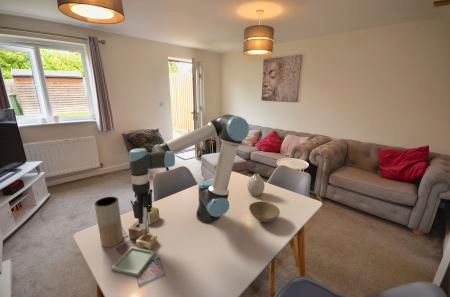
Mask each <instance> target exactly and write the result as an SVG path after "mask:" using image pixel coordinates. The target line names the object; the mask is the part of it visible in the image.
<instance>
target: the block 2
mask: <svg viewBox="0 0 450 297" xmlns="http://www.w3.org/2000/svg"><path fill="white" fill-rule="evenodd" d="M157 242H158V236H157V234H156V233H151V232H149V233H148V234H146V235H143V234H142V235H141V236H140V237H139V238H138V239H137V240H135V245H136V246H135V247H138V248H143V249H147V250H152V248H153V247H154V246H155V245H156V243H157Z"/></svg>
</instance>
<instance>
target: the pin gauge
mask: <svg viewBox="0 0 450 297" xmlns="http://www.w3.org/2000/svg"><path fill="white" fill-rule="evenodd" d="M143 216H145V227H146V228H145V229H142V234H143V235H146V234H148V233H150V228H149V229H148V218H147V207H146V206H143Z"/></svg>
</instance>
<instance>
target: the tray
mask: <svg viewBox="0 0 450 297" xmlns="http://www.w3.org/2000/svg"><path fill="white" fill-rule="evenodd" d="M155 255H156V251H155V250H152V249H150V250H147V249H143V248H138V247H136V246H133V245H131V246H130V247H128V249H127V250H126V251H125V252H124V253H123V255H121V257H119V258H118V260H117V261H116V262H114V264H112V266H111V267H110V269H111V271H113V272H118V273H121V274H126V275H129V276H133V277H139V276H140V275H141V273H142V272H143V270H144V269H145V268H146V267H147V265H148V264H149V263H150V262H151V261H152V259H153V258H154V256H155ZM145 266H146V267H145ZM144 267H145V268H144ZM138 275H139V276H138Z"/></svg>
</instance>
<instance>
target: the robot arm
mask: <svg viewBox="0 0 450 297" xmlns="http://www.w3.org/2000/svg"><path fill="white" fill-rule="evenodd" d="M249 132H250V126H249V123H248V121H247V120H246V119H245V118H244V117H241V116H240V115H234V114H229V113H228V114H227V113H226V114H223V115H221V116H218V117H216V118H214V119H212V120H210V121H208V123H207V124H204V125H202V126H200V127H198V128H196V129H193V130H191V131H189V132H187V133H184V134H181V135H180V136H178V137H177V136H176V137H175V138H173V139H171V140H168V141H166V142H163V143H162V144H161V143H158V144H155V145H154V146H153V147H152V149H151V152H148V150H147V149H146V148H143V147H142V148H141V147H140V148H138V147H137V148H133V149H131V150H130V151H129V153H128V157H129V158H128V159H129V168H130V175H131V185H132V187H131V188H132V191H133V193H134V199H133V200H130V204H131V207H132V212H133V217H134V218H135V219H136V220H137V221H139V225H140V228H141V229H145V228H146V227H145V216H143V206H146V207H147V218H148V225H149V226H150V225H151V224H150V213H149V212H151V210H150V209H151V208H152V207H153V189H151V182H150V171H149V170H152V169H153V170H154V169H155V170H156V169H163V168H164V169H165V168H172V167H174V166H175V164H176V157H175V154H178V153H179V152H182V151H184V150H186V149H189V148H191V147H193V146H196V145H198V144H200V143H202V142H204V141H207V140H210V138H214V137H215V138H217V137H219V140H220V141H221V146H220V151H219V154H218V158H217V163H216V167H215V170H214V174H213V175H214V176H213V179H205V180H202V181H200V182H198V187H197V188H198V207H197V210H196V213H195V214H196V216H195V217H196V219H197V220H198V221H199V222H202V223H207V224H208V223H209V224H210V223H215V222H216V221H218V220H219V219H220V218H221V217H222V216H223V215H225V214H226V213H227V212H228V211H229V209H230V201H229V199H228V198H229V195H230V191H229V189H228V187H229V183H230V179H231V175H232V172H233V167H234V163H235V160H236V156H237V152H238V147H240V146H241V145H242V144H243V141H244V140H245V139H246V138H247V137H248V135H249Z"/></svg>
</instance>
